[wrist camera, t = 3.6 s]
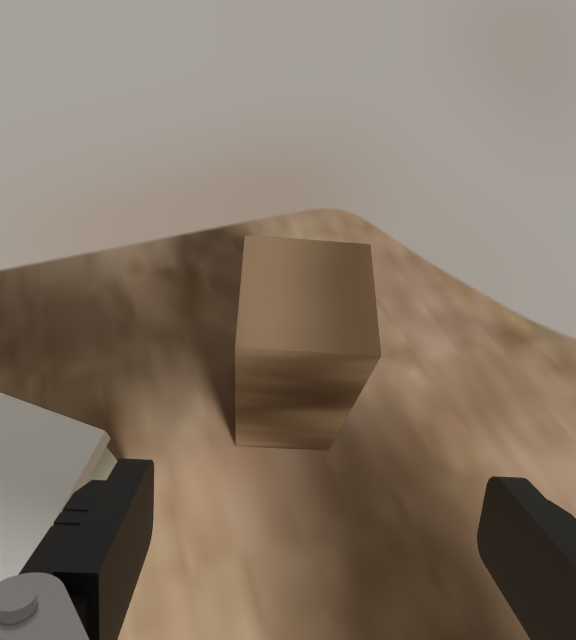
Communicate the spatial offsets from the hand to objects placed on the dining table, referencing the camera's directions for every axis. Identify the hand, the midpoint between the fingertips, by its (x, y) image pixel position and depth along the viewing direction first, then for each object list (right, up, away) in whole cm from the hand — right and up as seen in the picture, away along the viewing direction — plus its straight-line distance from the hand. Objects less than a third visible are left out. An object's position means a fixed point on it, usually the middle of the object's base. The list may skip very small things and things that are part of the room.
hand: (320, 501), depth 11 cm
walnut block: (-1, 0, +13) cm, 13 cm away
